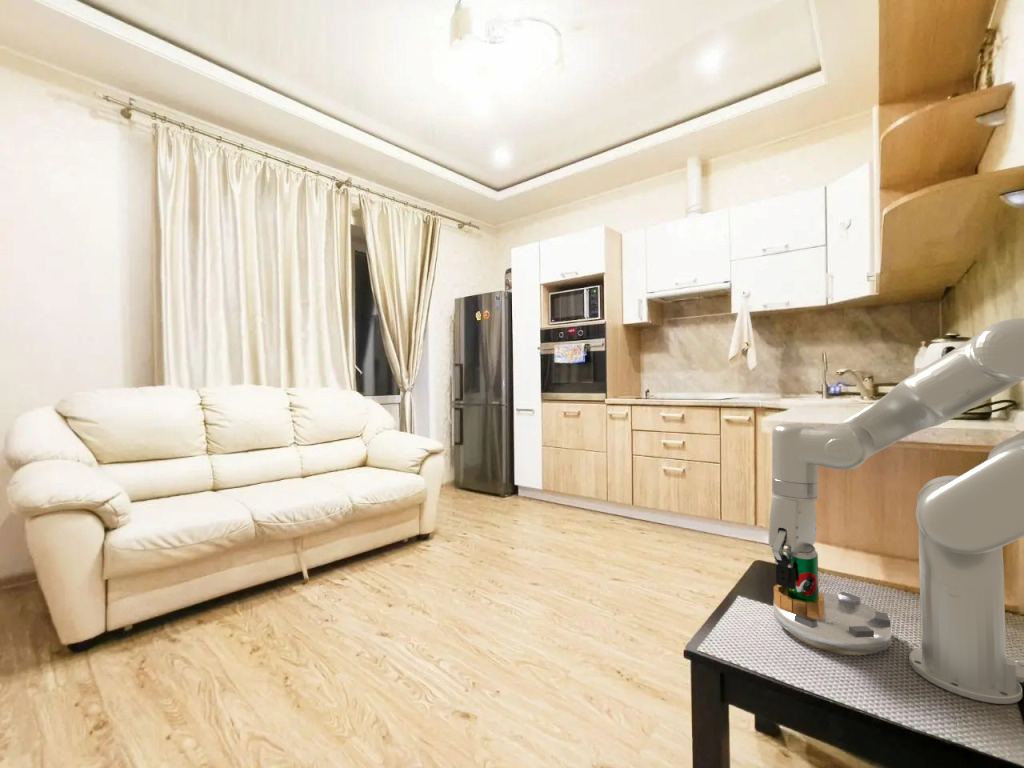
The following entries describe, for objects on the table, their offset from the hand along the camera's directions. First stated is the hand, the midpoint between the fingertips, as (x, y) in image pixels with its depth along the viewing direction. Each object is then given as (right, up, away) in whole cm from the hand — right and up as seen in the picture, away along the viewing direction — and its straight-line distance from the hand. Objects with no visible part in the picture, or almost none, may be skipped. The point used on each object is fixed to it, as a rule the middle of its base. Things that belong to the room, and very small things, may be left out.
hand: (794, 580), depth 87 cm
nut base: (+5, -9, -2) cm, 11 cm away
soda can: (+2, -5, 0) cm, 5 cm away
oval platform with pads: (+5, -7, -2) cm, 9 cm away
